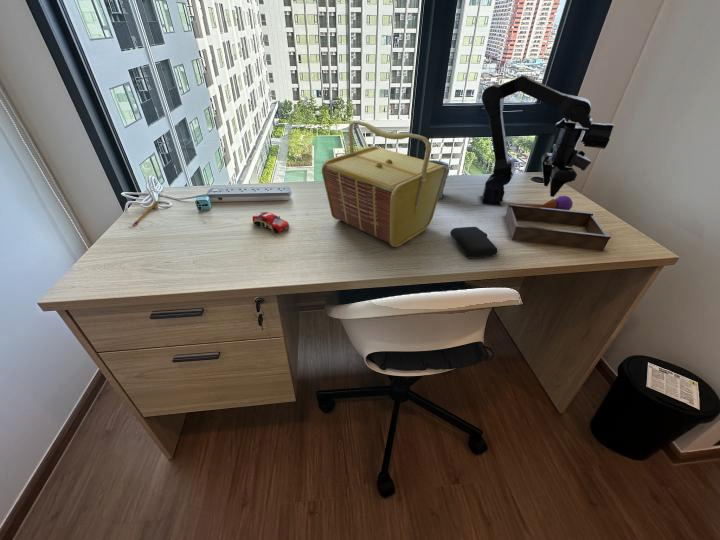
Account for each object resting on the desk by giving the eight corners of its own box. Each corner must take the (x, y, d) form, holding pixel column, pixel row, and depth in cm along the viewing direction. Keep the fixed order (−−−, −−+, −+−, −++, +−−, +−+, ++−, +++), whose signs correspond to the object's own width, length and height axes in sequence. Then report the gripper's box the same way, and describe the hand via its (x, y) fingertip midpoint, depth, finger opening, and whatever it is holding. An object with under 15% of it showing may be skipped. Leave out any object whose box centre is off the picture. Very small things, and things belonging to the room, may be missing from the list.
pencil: (135, 226, 104) (134, 224, 104) (132, 226, 104) (131, 224, 103) (160, 200, 119) (159, 198, 119) (158, 200, 119) (157, 198, 119)
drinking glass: (412, 192, 129) (416, 162, 122) (433, 188, 133) (438, 158, 126) (428, 202, 122) (433, 171, 115) (450, 197, 126) (456, 166, 119)
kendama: (511, 197, 117) (567, 193, 117) (509, 214, 120) (564, 209, 120) (519, 201, 112) (578, 197, 112) (516, 218, 114) (574, 214, 114)
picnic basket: (440, 226, 108) (458, 129, 90) (391, 258, 92) (400, 149, 74) (373, 199, 123) (377, 112, 106) (321, 223, 108) (315, 125, 90)
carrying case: (502, 258, 93) (479, 232, 105) (505, 249, 91) (481, 223, 103) (466, 261, 92) (447, 234, 103) (469, 252, 90) (449, 225, 102)
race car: (293, 229, 105) (291, 217, 102) (280, 236, 101) (279, 224, 99) (263, 217, 110) (261, 206, 108) (250, 224, 107) (248, 213, 104)
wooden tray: (511, 240, 101) (516, 226, 98) (504, 217, 114) (508, 203, 111) (603, 251, 97) (611, 237, 94) (586, 226, 109) (592, 212, 106)
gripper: (605, 154, 94) (583, 205, 104) (584, 137, 109) (566, 183, 118) (563, 151, 96) (545, 201, 105) (548, 135, 111) (533, 180, 120)
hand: (548, 191), depth 112 cm, fingers open, 9 cm apart
